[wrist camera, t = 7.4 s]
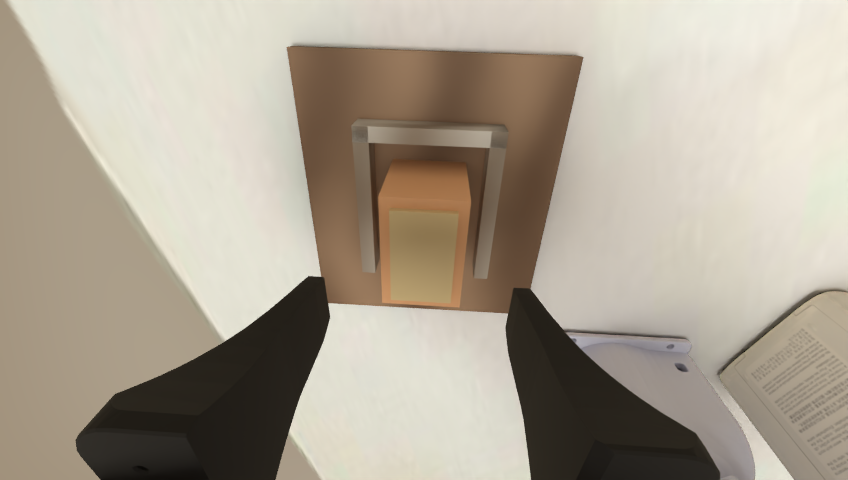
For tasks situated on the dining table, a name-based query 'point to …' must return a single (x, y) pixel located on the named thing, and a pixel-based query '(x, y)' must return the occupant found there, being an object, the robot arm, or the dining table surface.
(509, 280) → the end holder
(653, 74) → the dining table surface
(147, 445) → the robot arm
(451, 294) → the connector plug
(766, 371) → the photo printer
